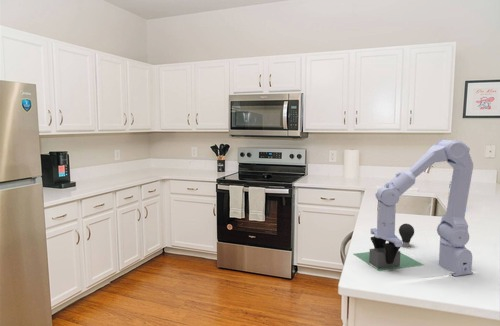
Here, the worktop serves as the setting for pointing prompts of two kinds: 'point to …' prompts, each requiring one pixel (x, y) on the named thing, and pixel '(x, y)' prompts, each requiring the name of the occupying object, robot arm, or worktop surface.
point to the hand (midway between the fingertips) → (384, 260)
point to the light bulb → (406, 234)
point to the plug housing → (382, 258)
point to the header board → (404, 263)
